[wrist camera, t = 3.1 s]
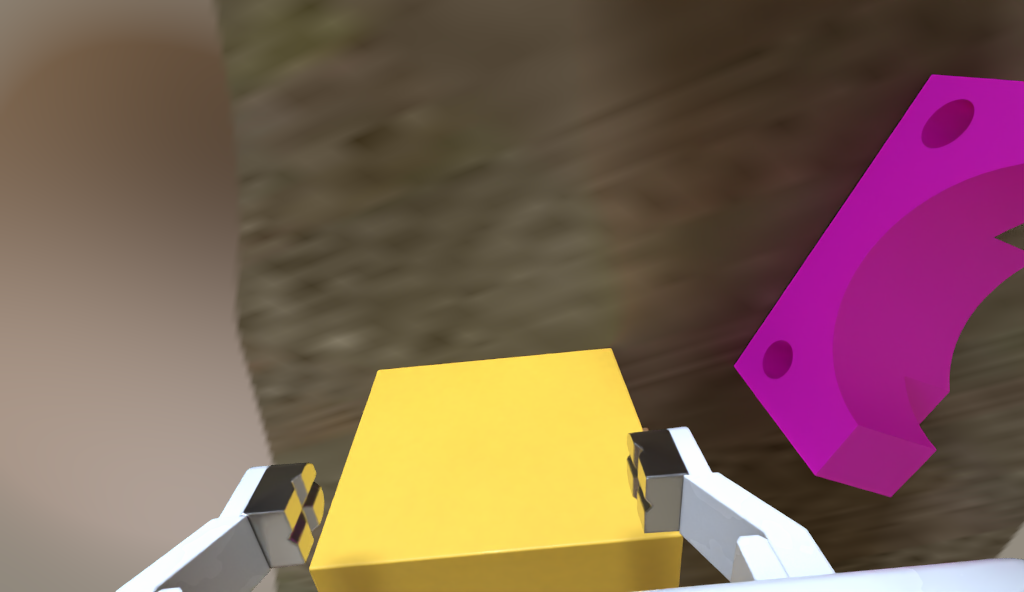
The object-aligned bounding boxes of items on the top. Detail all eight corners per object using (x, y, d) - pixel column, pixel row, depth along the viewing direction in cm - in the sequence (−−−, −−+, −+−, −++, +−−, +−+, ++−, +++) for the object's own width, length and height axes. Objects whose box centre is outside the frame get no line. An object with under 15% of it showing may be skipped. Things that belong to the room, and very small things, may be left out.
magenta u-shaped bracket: (830, 397, 28) (938, 510, 21) (733, 366, 27) (814, 475, 20) (1045, 130, 22) (1293, 170, 15) (931, 74, 20) (1145, 90, 14)
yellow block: (377, 369, 26) (307, 569, 16) (611, 347, 26) (684, 535, 16) (396, 443, 28) (344, 658, 18) (611, 423, 28) (675, 629, 18)
